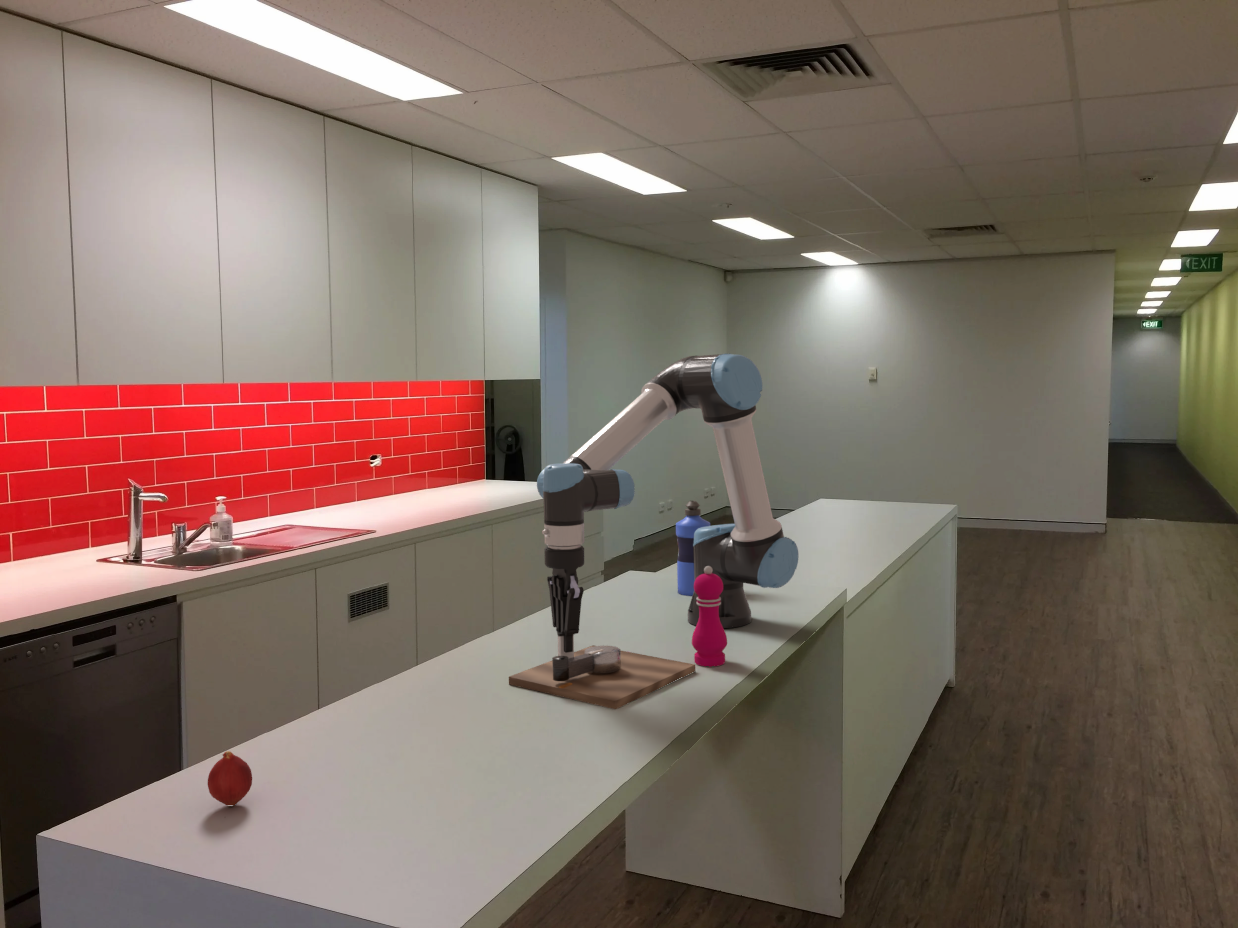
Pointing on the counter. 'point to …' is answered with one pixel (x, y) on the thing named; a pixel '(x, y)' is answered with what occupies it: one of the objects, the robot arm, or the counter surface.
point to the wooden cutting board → (607, 680)
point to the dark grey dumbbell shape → (587, 662)
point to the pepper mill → (709, 621)
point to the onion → (229, 779)
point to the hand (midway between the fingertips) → (566, 667)
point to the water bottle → (687, 547)
